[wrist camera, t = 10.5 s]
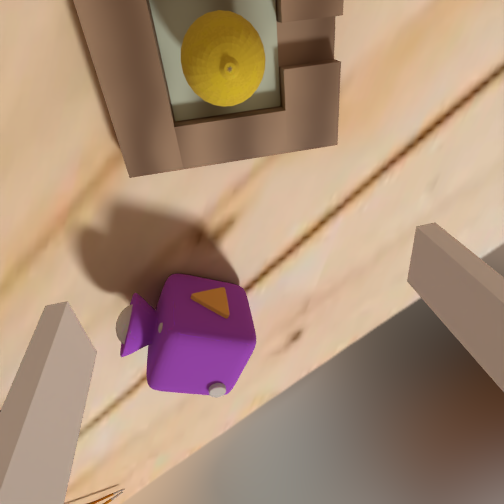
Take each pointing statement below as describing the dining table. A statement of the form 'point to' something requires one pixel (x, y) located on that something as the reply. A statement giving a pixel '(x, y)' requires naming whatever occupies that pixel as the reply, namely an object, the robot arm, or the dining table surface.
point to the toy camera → (191, 335)
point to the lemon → (223, 58)
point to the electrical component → (108, 496)
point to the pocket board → (195, 108)
